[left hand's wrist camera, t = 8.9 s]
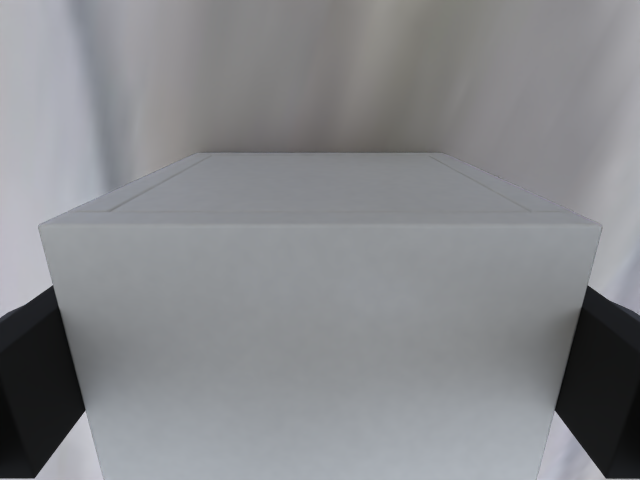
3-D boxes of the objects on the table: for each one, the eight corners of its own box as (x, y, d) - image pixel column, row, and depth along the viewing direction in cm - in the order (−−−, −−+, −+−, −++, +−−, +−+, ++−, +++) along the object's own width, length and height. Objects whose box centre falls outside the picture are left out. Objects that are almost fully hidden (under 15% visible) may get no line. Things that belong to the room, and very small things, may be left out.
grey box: (411, 457, 23) (476, 713, 14) (228, 457, 23) (163, 713, 14) (444, 152, 17) (605, 224, 7) (195, 152, 17) (35, 224, 7)
